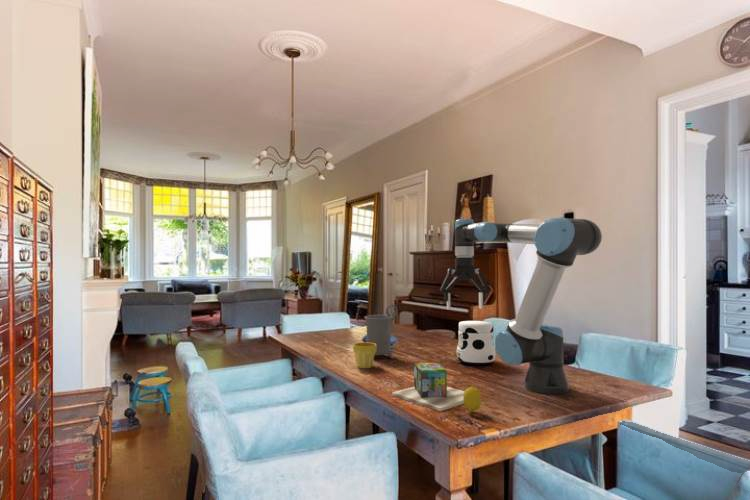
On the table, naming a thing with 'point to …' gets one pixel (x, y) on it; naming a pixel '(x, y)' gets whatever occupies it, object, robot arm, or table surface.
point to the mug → (380, 331)
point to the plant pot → (364, 354)
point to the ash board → (432, 398)
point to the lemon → (472, 398)
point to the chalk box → (430, 380)
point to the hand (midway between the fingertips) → (464, 308)
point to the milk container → (476, 342)
